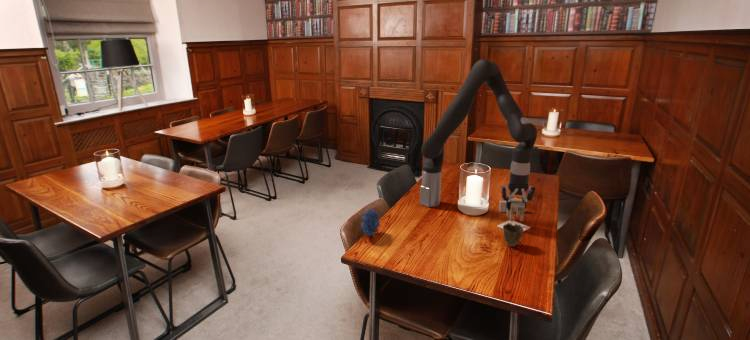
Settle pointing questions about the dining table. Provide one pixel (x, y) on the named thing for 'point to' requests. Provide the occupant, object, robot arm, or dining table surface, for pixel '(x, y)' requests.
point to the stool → (520, 209)
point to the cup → (512, 234)
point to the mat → (514, 225)
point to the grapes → (370, 222)
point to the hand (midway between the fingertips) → (515, 209)
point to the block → (503, 207)
